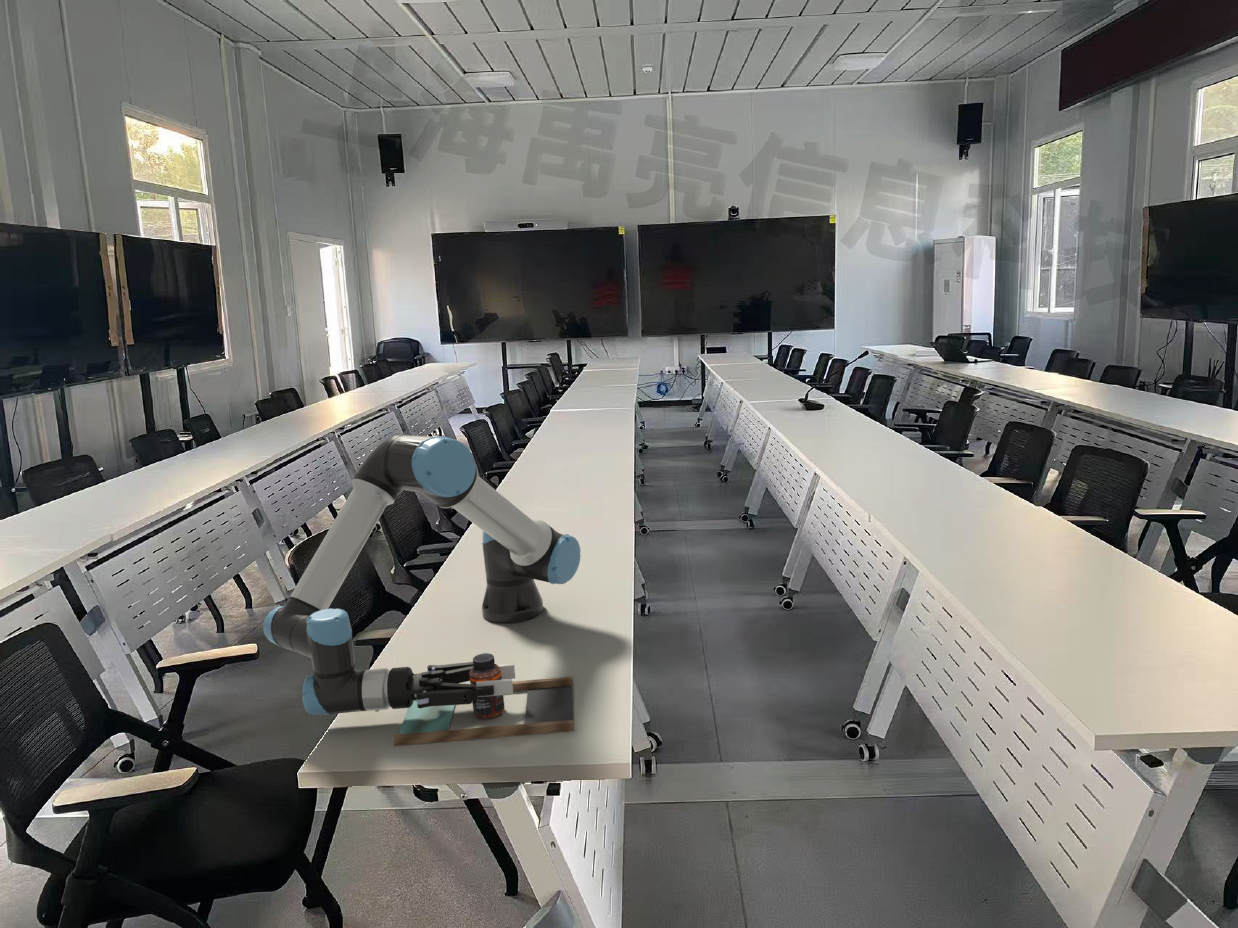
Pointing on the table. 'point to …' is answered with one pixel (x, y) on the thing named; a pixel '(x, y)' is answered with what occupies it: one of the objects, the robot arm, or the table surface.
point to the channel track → (543, 715)
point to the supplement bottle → (486, 672)
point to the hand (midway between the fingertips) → (513, 678)
